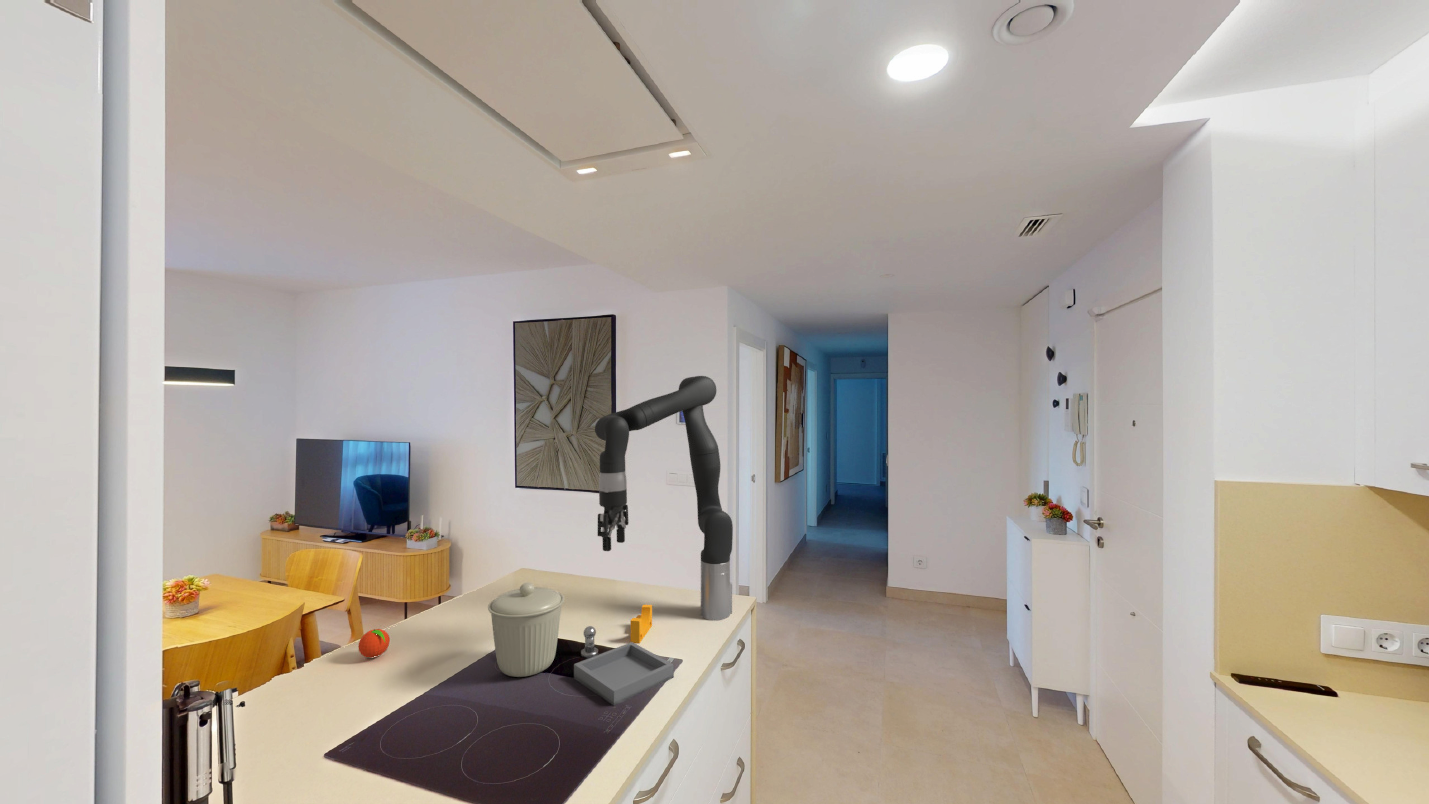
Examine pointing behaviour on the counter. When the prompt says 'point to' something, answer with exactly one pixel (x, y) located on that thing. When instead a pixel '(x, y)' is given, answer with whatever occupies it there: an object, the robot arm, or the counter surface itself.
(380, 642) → the clementine
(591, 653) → the door knob
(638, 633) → the pipe clamp
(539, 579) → the counter surface
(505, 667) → the canister
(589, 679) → the parts bin
